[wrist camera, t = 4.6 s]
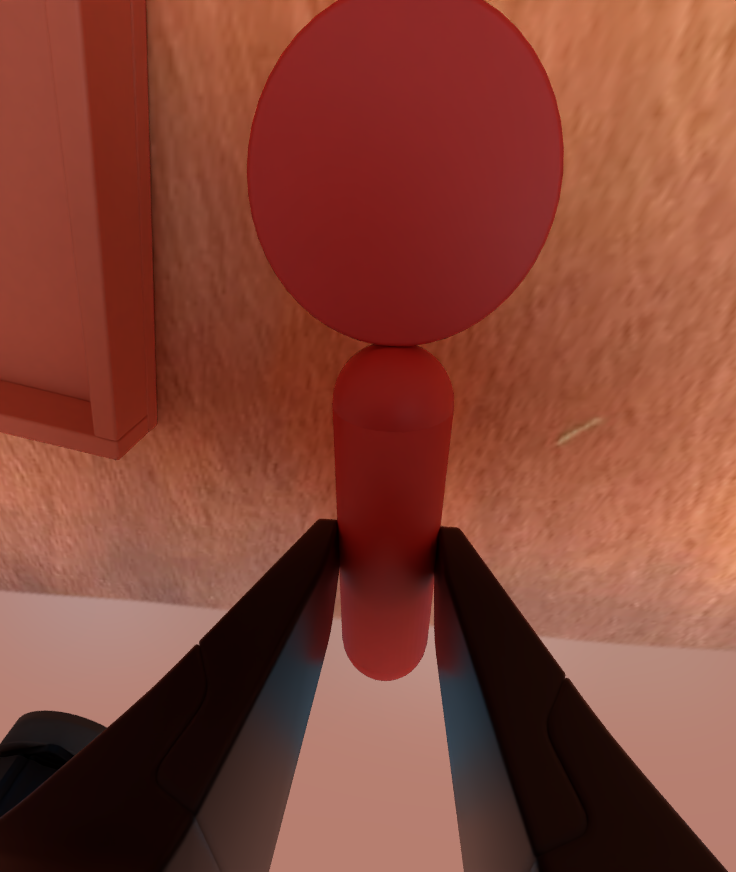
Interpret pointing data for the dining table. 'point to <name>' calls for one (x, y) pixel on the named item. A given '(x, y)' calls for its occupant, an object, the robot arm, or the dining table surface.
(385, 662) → the red spoon
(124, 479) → the dining table surface
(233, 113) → the dining table surface
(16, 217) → the red tray
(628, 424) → the dining table surface
